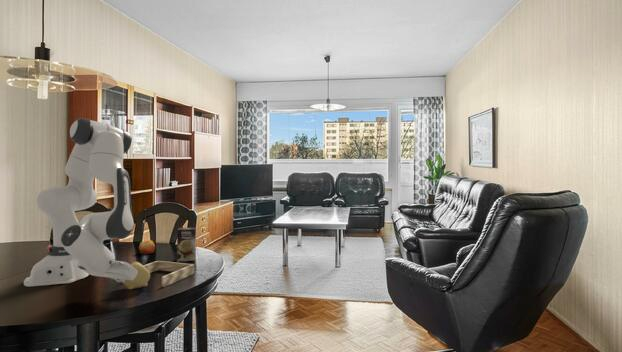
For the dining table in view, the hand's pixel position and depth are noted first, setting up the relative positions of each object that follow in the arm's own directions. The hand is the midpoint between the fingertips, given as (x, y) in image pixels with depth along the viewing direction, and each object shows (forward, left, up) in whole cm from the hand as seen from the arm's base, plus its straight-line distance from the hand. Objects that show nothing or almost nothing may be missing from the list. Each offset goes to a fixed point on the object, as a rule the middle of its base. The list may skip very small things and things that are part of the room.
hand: (122, 280), depth 138 cm
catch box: (+16, +13, -5) cm, 21 cm away
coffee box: (+33, +38, -5) cm, 51 cm away
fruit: (+18, +63, -5) cm, 66 cm away
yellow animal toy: (+5, +3, -5) cm, 8 cm away
